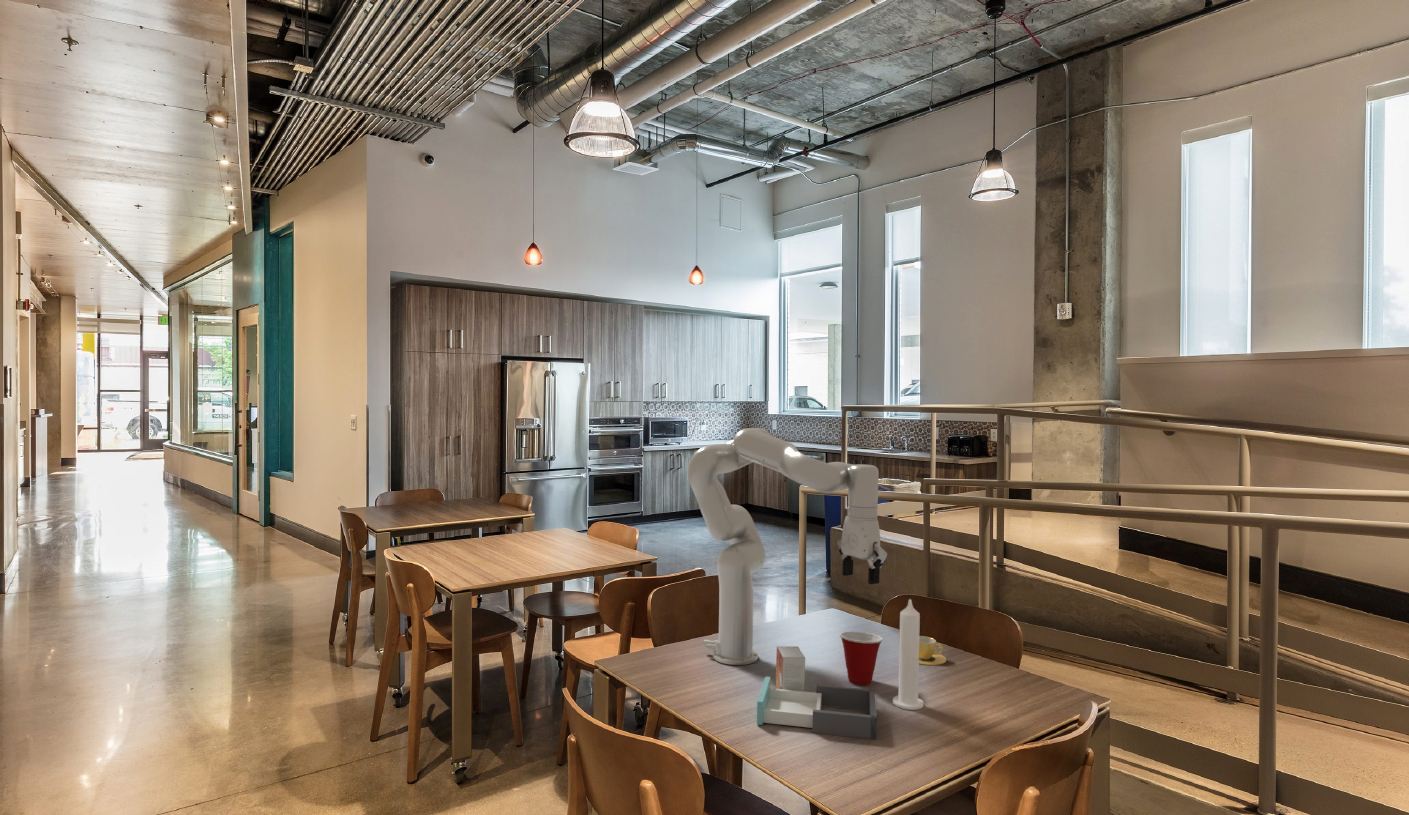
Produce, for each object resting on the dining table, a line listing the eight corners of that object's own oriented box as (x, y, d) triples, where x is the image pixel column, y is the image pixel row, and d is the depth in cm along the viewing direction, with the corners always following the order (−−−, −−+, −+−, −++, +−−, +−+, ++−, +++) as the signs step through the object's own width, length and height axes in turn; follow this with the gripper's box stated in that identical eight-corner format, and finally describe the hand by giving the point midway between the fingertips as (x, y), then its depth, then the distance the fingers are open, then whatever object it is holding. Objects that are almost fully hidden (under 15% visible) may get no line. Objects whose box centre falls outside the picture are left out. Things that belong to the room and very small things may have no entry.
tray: (756, 724, 159) (757, 701, 159) (765, 697, 174) (765, 676, 174) (818, 730, 156) (819, 707, 156) (821, 703, 171) (822, 681, 171)
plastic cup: (886, 678, 189) (887, 632, 189) (876, 692, 179) (877, 643, 179) (845, 670, 194) (846, 625, 194) (833, 684, 184) (834, 636, 184)
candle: (924, 700, 175) (926, 596, 175) (922, 712, 168) (925, 604, 168) (893, 696, 177) (896, 593, 177) (891, 707, 170) (893, 600, 170)
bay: (812, 732, 156) (812, 711, 156) (816, 703, 172) (816, 684, 172) (876, 739, 153) (876, 718, 153) (874, 708, 169) (874, 689, 169)
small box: (775, 687, 181) (776, 645, 181) (797, 687, 181) (798, 645, 181) (781, 700, 173) (782, 656, 173) (804, 700, 173) (805, 656, 173)
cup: (899, 662, 202) (899, 642, 202) (905, 649, 213) (905, 630, 213) (944, 669, 197) (945, 649, 197) (948, 655, 208) (948, 636, 208)
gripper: (829, 508, 192) (827, 573, 192) (875, 518, 177) (873, 588, 177) (850, 507, 196) (848, 570, 196) (897, 517, 181) (895, 585, 181)
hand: (860, 579), depth 186 cm, fingers open, 9 cm apart
